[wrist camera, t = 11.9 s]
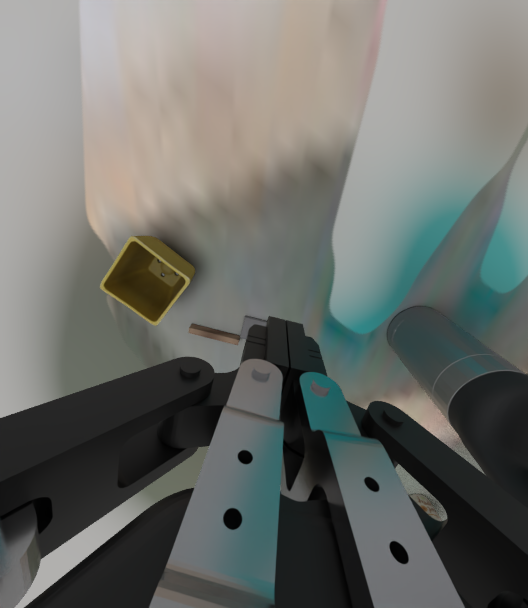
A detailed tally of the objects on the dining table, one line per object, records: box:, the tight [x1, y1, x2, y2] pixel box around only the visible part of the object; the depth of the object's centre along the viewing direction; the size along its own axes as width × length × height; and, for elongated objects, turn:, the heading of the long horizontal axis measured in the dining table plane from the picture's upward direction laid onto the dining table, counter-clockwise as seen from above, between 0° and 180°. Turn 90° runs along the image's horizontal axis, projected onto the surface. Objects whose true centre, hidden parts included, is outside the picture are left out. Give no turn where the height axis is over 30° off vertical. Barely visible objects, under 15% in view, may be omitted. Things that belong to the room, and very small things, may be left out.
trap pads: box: [240, 316, 267, 339], centre depth 48 cm, size 5×20×1 cm, turn 146°
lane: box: [189, 324, 240, 345], centre depth 46 cm, size 22×10×5 cm, turn 75°
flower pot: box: [100, 236, 195, 326], centre depth 38 cm, size 9×9×9 cm
